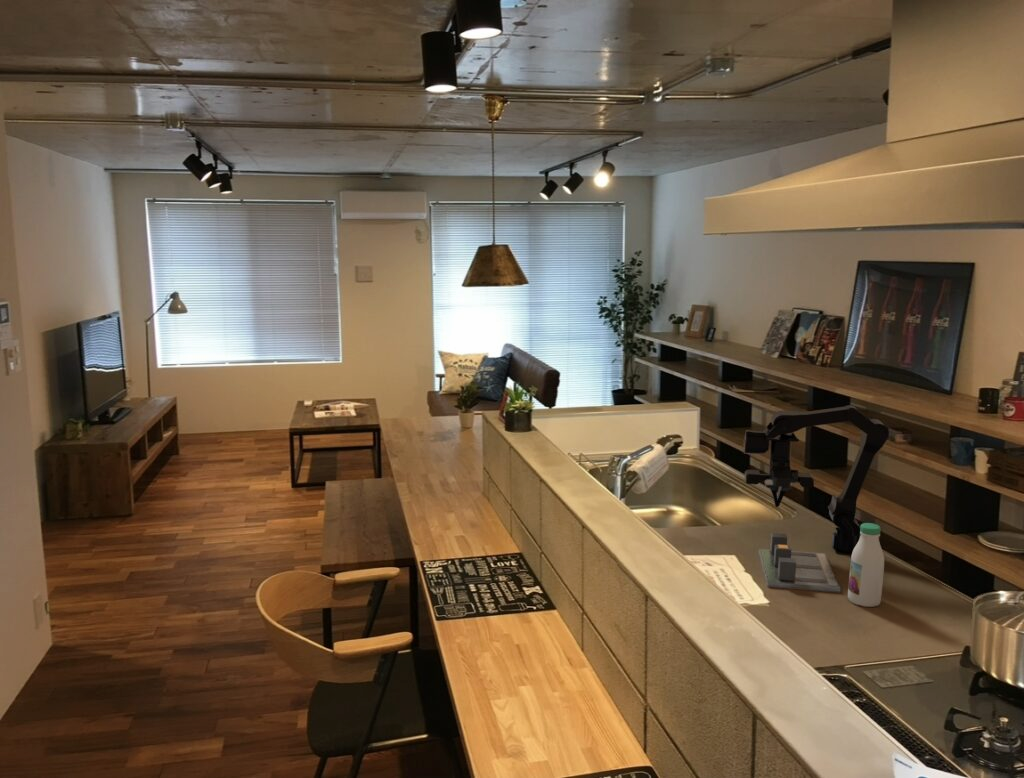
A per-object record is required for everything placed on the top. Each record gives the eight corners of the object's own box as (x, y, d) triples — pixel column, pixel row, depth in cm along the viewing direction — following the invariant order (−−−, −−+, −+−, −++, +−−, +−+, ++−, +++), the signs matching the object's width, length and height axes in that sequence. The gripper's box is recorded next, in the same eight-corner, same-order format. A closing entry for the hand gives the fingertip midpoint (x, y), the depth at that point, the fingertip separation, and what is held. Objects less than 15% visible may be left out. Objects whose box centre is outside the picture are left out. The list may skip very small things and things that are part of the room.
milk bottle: (881, 597, 213) (888, 523, 209) (880, 610, 206) (887, 533, 202) (848, 592, 216) (854, 518, 213) (846, 604, 210) (852, 528, 206)
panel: (824, 557, 238) (824, 552, 238) (839, 592, 216) (840, 587, 216) (758, 553, 242) (759, 548, 241) (767, 586, 219) (767, 581, 219)
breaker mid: (788, 562, 231) (790, 544, 230) (790, 567, 228) (791, 549, 227) (773, 561, 232) (774, 543, 231) (774, 566, 229) (776, 548, 228)
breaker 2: (793, 576, 222) (794, 558, 221) (794, 580, 219) (796, 562, 218) (777, 574, 223) (778, 557, 222) (779, 579, 220) (780, 561, 219)
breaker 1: (784, 550, 240) (785, 533, 239) (786, 554, 237) (787, 537, 236) (770, 549, 240) (771, 532, 239) (771, 553, 237) (772, 536, 236)
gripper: (749, 461, 236) (746, 513, 239) (818, 464, 233) (814, 518, 236) (745, 450, 247) (743, 501, 250) (812, 453, 243) (808, 505, 246)
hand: (776, 506), depth 245 cm, fingers closed
